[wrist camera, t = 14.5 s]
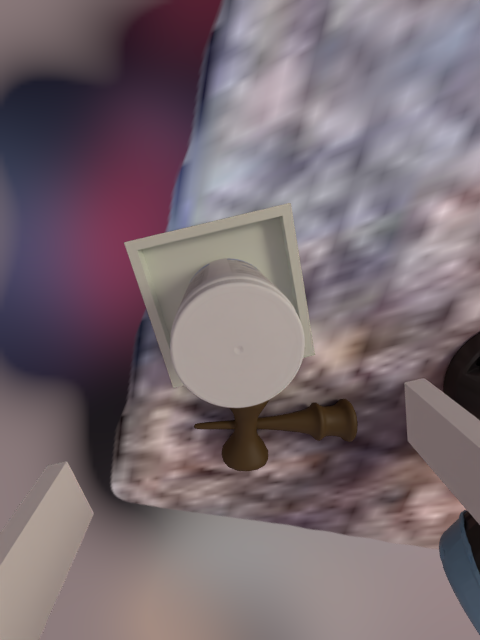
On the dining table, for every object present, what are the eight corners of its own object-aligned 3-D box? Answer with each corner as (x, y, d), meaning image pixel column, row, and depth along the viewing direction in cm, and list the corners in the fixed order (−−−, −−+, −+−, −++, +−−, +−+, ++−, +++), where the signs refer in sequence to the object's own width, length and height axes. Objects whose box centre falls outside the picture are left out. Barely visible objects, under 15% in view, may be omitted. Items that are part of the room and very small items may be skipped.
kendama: (337, 436, 43) (195, 443, 41) (345, 374, 40) (194, 379, 38) (357, 468, 37) (193, 477, 35) (368, 398, 35) (191, 405, 33)
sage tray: (308, 346, 38) (314, 355, 35) (176, 377, 38) (173, 388, 35) (285, 204, 32) (290, 202, 30) (131, 240, 32) (123, 242, 30)
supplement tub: (205, 349, 36) (197, 430, 22) (172, 274, 33) (138, 313, 19) (282, 321, 36) (323, 385, 22) (255, 243, 33) (283, 258, 19)
